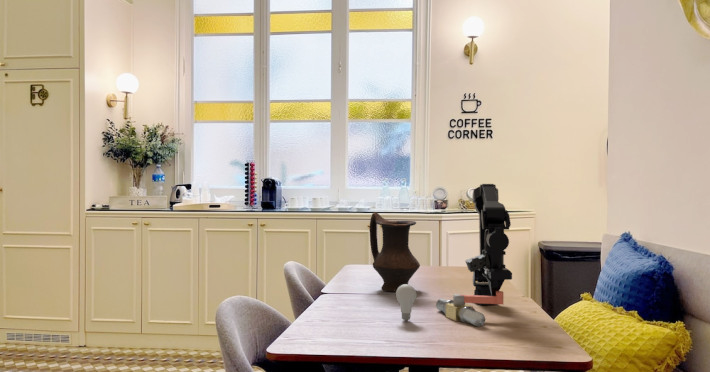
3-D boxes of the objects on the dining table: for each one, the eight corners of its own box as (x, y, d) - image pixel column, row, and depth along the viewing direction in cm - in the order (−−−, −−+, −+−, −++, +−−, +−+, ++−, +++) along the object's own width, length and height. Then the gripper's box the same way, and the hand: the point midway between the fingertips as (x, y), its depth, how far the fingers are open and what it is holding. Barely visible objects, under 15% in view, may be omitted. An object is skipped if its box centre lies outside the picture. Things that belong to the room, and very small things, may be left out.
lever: (502, 304, 170) (502, 291, 170) (503, 307, 166) (503, 293, 166) (453, 302, 172) (453, 289, 172) (453, 305, 169) (453, 291, 169)
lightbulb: (418, 319, 168) (418, 283, 168) (413, 324, 162) (413, 286, 162) (398, 318, 170) (398, 282, 170) (393, 322, 164) (393, 285, 164)
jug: (428, 288, 221) (428, 213, 221) (406, 296, 205) (407, 214, 205) (381, 283, 232) (382, 211, 232) (358, 290, 216) (358, 213, 216)
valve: (449, 311, 182) (449, 295, 182) (488, 327, 161) (488, 309, 161) (433, 313, 180) (433, 297, 180) (470, 329, 159) (470, 311, 159)
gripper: (462, 243, 180) (461, 291, 180) (474, 251, 161) (474, 304, 162) (496, 243, 180) (496, 291, 180) (512, 251, 161) (512, 304, 162)
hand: (493, 297), depth 171 cm, fingers closed
